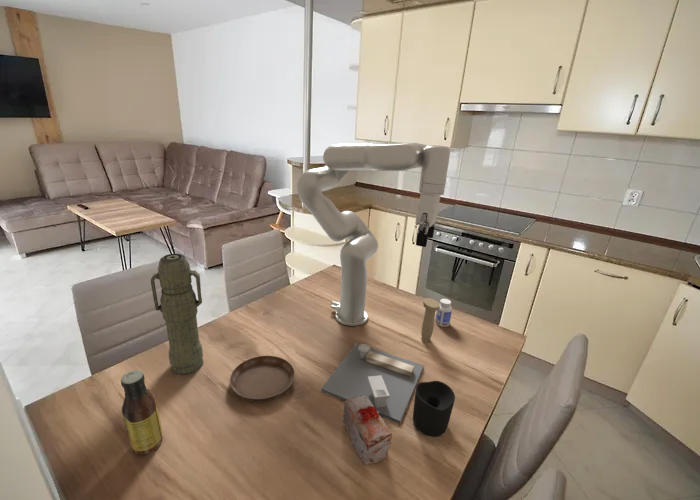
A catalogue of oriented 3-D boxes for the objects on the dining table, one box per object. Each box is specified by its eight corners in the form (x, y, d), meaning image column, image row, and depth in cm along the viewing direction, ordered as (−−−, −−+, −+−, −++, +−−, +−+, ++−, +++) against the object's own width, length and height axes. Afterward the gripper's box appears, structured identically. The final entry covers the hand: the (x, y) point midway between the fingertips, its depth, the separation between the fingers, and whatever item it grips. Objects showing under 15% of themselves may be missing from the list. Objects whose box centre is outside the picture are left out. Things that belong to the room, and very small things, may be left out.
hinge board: (320, 391, 96) (321, 377, 94) (356, 345, 116) (357, 333, 114) (399, 424, 87) (401, 409, 85) (423, 367, 107) (425, 355, 106)
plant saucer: (272, 355, 109) (272, 347, 108) (307, 385, 98) (307, 377, 97) (219, 381, 98) (218, 372, 97) (251, 419, 86) (250, 410, 85)
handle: (427, 333, 125) (432, 297, 119) (436, 344, 119) (442, 306, 114) (415, 335, 123) (420, 298, 118) (424, 346, 118) (430, 308, 112)
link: (365, 361, 107) (365, 356, 106) (369, 355, 109) (369, 350, 109) (410, 377, 101) (411, 372, 101) (413, 371, 104) (414, 366, 103)
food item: (394, 460, 78) (398, 427, 74) (363, 474, 74) (366, 440, 71) (365, 415, 89) (368, 385, 85) (337, 425, 86) (339, 394, 82)
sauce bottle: (140, 433, 80) (125, 363, 73) (168, 432, 81) (156, 363, 74) (125, 458, 74) (107, 386, 67) (155, 457, 75) (141, 385, 68)
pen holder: (418, 403, 94) (423, 374, 90) (452, 419, 89) (459, 388, 86) (405, 427, 86) (410, 396, 82) (442, 446, 82) (448, 414, 78)
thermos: (211, 368, 102) (199, 259, 89) (166, 380, 96) (146, 266, 84) (207, 351, 109) (195, 248, 96) (165, 361, 104) (147, 253, 91)
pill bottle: (450, 321, 133) (454, 299, 130) (448, 328, 129) (452, 306, 125) (436, 318, 135) (440, 296, 132) (433, 324, 131) (437, 302, 127)
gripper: (426, 182, 113) (419, 232, 119) (412, 191, 98) (405, 247, 104) (449, 185, 110) (441, 236, 116) (438, 194, 95) (430, 252, 101)
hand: (424, 241), depth 110 cm, fingers open, 9 cm apart
